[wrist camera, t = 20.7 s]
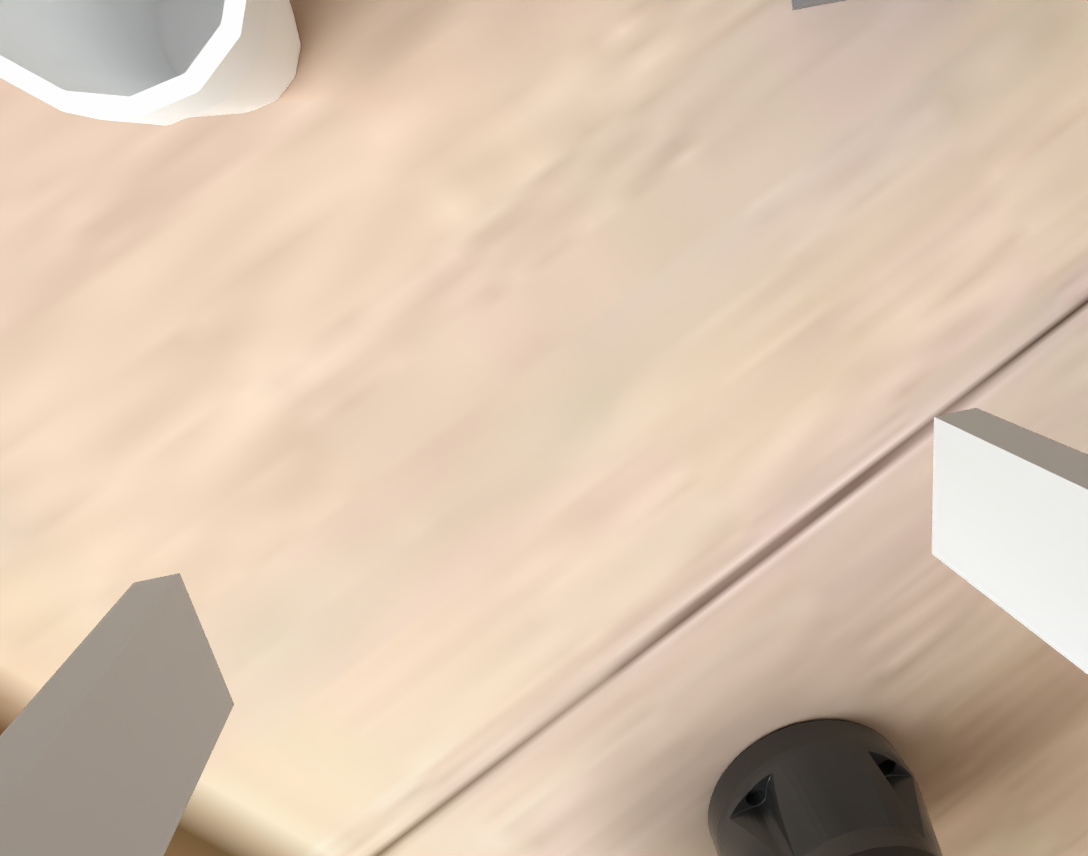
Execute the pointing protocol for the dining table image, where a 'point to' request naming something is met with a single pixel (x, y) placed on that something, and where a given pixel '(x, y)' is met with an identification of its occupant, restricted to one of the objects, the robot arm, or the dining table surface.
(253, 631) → the dining table surface
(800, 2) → the grey square block
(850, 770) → the robot arm
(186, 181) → the dining table surface
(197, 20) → the foam cup
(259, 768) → the dining table surface
